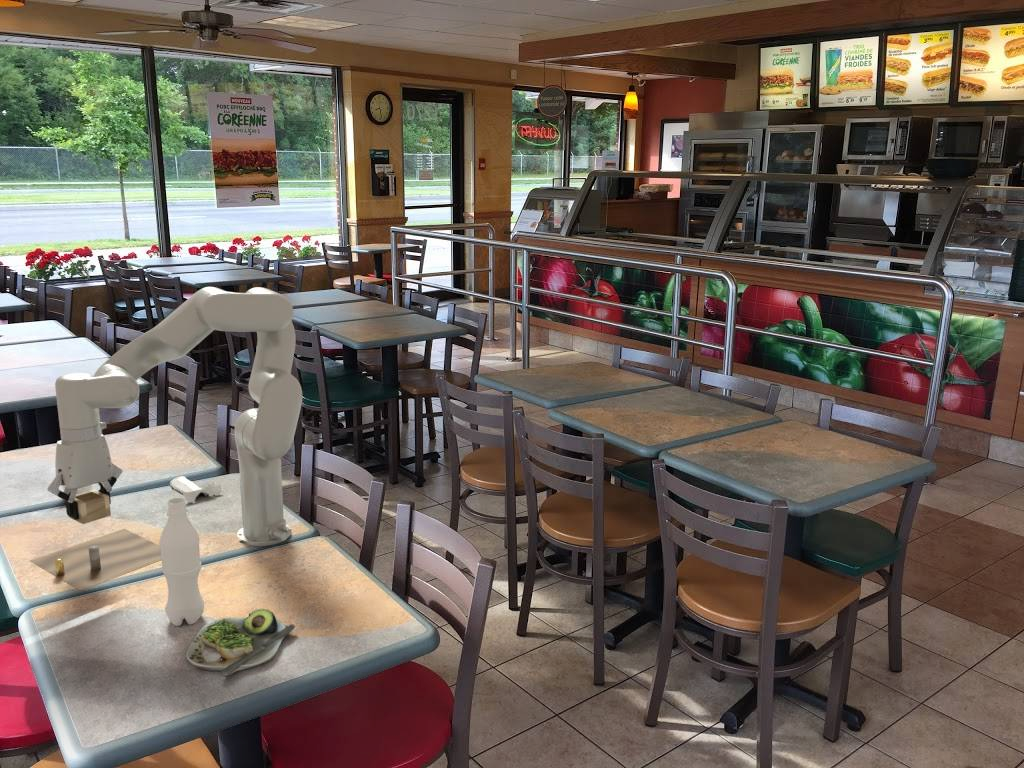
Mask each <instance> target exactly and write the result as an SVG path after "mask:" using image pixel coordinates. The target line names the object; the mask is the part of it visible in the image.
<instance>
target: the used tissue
mask: <svg viewBox="0 0 1024 768" xmlns="http://www.w3.org/2000/svg"><path fill="white" fill-rule="evenodd" d="M169 486H170V487H171V486H172V487H173V488H175V489H176V490H178V491H180V492H181V493H180V492H179V493H180V494H182V493H183V494H182V495H183V496H184V500H186V501H187V503H192V504H193V505H194V504H197V502H196V501H195V500H197V497H198V496H199V495H200V494H202V493H203V494H202V495H204V496H205V497H206V496H208V497H210V496H211V497H215V496H216V497H218V496H220V494H221V493H223V491H222V490H223V489H222V486H221V484H219V485H217V486H215V483H213V482H212V483H210V484H207V485H204V486H202V487H199V486H198V485H196V484H195V483H194V482H193V481H191V480H189V479H187V477H186V476H182V475H181V476H178V477H177V476H176V477H174V478H173V479H171V480H170V482H169ZM172 487H171V488H172ZM176 490H175V491H176ZM178 491H177V492H178ZM213 495H215V496H213Z"/></svg>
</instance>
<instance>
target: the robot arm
mask: <svg viewBox="0 0 1024 768" xmlns="http://www.w3.org/2000/svg"><path fill="white" fill-rule="evenodd" d="M293 317H294V308H293V305H292V303H291V301H290V300H289V299H288V298H287V297H286V296H285V295H283V294H281V293H279V292H276V291H273V290H272V289H269V288H266V287H258V286H257V287H256V286H255V287H252V288H250V289H248V290H247V291H246V292H233V291H226V290H225V289H221V288H218V287H214V286H205V287H202V288H200V289H199V290H197V291H196V292H195V293H193V294H192V295H191V296H190V297H188V299H187V300H185V301H184V302H183V303H181V304H180V305H179V306H178V307H177V308H176V309H175V310H173V312H171V313H170V314H169V315H167V316H166V317H165V318H163V320H161V322H159V323H158V324H157V325H155V326H154V327H153V328H151V329H150V330H147V331H146V332H144V333H142V335H140V336H138V337H136V338H135V339H133V340H131V341H130V342H129V343H127V344H126V345H124V346H123V347H121V348H120V349H119V350H118V351H116V352H115V353H114V354H113V355H111V357H109V358H108V359H107V360H106V361H105V362H103V363H102V364H101V365H100V366H99V367H98V368H97V369H96V371H95V373H94V375H92V374H90V373H85V372H72V373H67V374H66V373H65V374H63V375H60V376H59V377H57V378H56V380H55V383H54V385H55V387H54V388H55V397H56V404H57V405H56V406H57V413H58V423H59V430H60V431H59V432H60V439H61V440H57V442H56V448H55V457H54V459H55V460H54V461H55V476H54V479H52V481H51V483H50V484H49V485H48V487H47V489H46V490H47V491H48V492H49V493H51V494H53V495H54V496H56V497H58V498H60V499H62V500H63V501H65V502H64V503H65V510H66V512H65V513H66V514H67V516H68V518H70V519H72V520H74V521H76V520H78V519H79V513H78V504H77V502H76V501H75V496H76V493H77V489H78V488H81V487H85V486H89V485H92V486H93V485H95V484H97V485H98V487H99V489H98V491H99V492H101V493H103V494H106V495H108V496H109V501H110V505H111V503H112V500H111V492H112V491H113V487H114V485H115V484H116V482H117V481H118V480H117V479H118V478H120V476H121V475H122V473H123V469H121V468H120V467H118V466H117V465H116V464H114V463H113V462H112V458H111V454H110V449H109V446H108V442H107V439H106V436H105V435H104V434H103V430H105V429H107V427H108V426H107V423H106V422H105V421H102V422H101V419H100V417H101V416H100V409H122V408H126V407H130V406H131V405H133V404H134V403H135V402H136V401H137V400H138V399H139V396H140V386H139V383H138V379H140V378H141V377H142V376H144V375H145V374H146V373H147V372H149V371H150V370H152V369H153V368H154V367H157V366H159V365H160V364H163V363H166V362H171V361H175V360H178V359H181V358H183V357H185V356H186V355H187V354H188V353H189V352H190V351H192V350H193V349H194V348H195V347H196V346H197V345H199V344H200V343H201V342H203V340H205V338H207V337H208V336H209V335H210V334H211V333H212V332H213V331H219V332H220V331H221V332H231V333H232V332H235V333H236V332H238V333H239V332H241V333H244V332H245V333H246V332H247V333H251V332H252V333H256V334H257V335H256V337H257V343H256V352H255V356H254V359H253V364H252V369H251V373H250V377H249V380H248V381H249V382H248V393H249V394H250V396H251V399H252V400H253V401H255V402H256V403H257V404H258V408H257V407H254V408H253V407H252V408H249V409H247V410H244V411H243V412H242V413H240V415H239V416H238V417H237V419H236V421H235V425H234V440H235V441H234V442H235V445H236V451H237V456H238V457H237V458H238V468H239V484H240V501H241V503H240V504H241V516H242V519H241V520H242V527H241V528H239V529H238V531H237V533H236V536H237V538H239V541H238V542H239V543H241V544H242V545H246V546H249V547H266V546H273V545H276V544H280V543H282V542H284V541H286V540H287V539H288V538H289V537H291V534H292V528H291V527H290V525H288V524H287V520H286V519H284V518H285V517H284V497H283V495H284V494H283V478H282V476H283V475H282V473H283V472H282V459H281V458H283V457H284V456H285V455H286V454H287V453H289V450H290V448H291V446H292V444H293V441H294V438H295V434H296V429H297V426H298V421H299V417H300V416H299V415H300V412H301V408H302V403H303V389H302V386H301V384H300V382H299V380H298V378H296V377H295V376H294V375H293V374H292V366H293V362H294V356H295V355H294V354H295V350H296V340H297V339H296V338H297V337H296V330H295V327H294V323H293V321H292V319H293ZM63 485H65V489H64V491H62V490H61V489H60V488H59V487H60V486H61V487H62V486H63Z"/></svg>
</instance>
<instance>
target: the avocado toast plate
mask: <svg viewBox="0 0 1024 768" xmlns="http://www.w3.org/2000/svg"><path fill="white" fill-rule="evenodd" d="M295 628H296V626H295V624H292V623H291V624H289V625H286V624H285V623H284V622H283V621H281V620H279V619H277V618H276V615H275V614H274V613H273V612H272V610H269V609H265V608H261V609H256V610H253V611H252V612H250V613H248V616H246V617H236V616H234V617H232V616H231V617H220V618H217V619H214V620H212V621H210V622H209V623H208V622H207V623H206V624H205V625H203V626H202V627H200V629H199V631H198V632H197V634H196V635H195V637H194V639H192V642H191V644H190V645H189V647H188V649H187V650H186V653H185V658H186V661H187V662H188V663H189V664H191V666H193V667H195V668H198V669H201V670H204V671H208V670H209V672H220V674H221V675H222V676H224V677H225V676H230V675H232V674H233V673H235V672H240V671H241V670H242V671H243V670H245V669H246V670H247V669H250V668H254V667H256V666H259V665H261V664H265V663H267V662H268V661H271V659H273V657H274V656H275V655H276V654H277V652H278V650H279V648H280V647H281V643H282V642H283V640H284V639H285V638H286V636H288V635H290V633H291V632H293V630H294V629H295ZM206 646H208V647H209V646H210V648H212V649H216V651H217V653H218V655H220V656H221V657H220V659H219V660H220V661H219V660H215V661H214V660H213V661H208V660H207V659H206V658H205V657H204V655H203V650H204V648H205V647H206ZM221 659H222V660H221ZM206 660H207V661H208V662H207V661H206Z"/></svg>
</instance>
